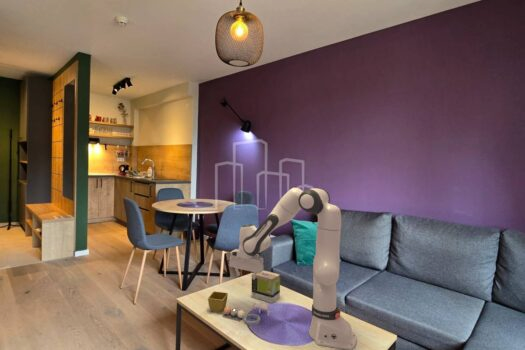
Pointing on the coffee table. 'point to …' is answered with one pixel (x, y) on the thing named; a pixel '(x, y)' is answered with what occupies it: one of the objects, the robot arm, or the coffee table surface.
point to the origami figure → (262, 306)
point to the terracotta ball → (227, 310)
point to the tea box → (266, 286)
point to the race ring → (252, 321)
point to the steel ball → (234, 312)
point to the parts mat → (232, 317)
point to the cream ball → (241, 314)
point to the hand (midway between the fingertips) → (245, 277)
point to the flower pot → (217, 301)
